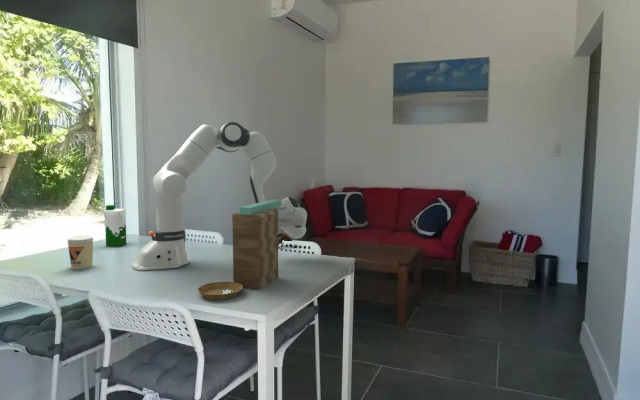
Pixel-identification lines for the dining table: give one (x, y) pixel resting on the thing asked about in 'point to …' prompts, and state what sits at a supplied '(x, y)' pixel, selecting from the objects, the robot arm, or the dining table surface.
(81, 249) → the coffee cup
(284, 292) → the dining table surface
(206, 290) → the plant saucer
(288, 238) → the pottery mug
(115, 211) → the milk carton
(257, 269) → the shelf block
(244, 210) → the board
